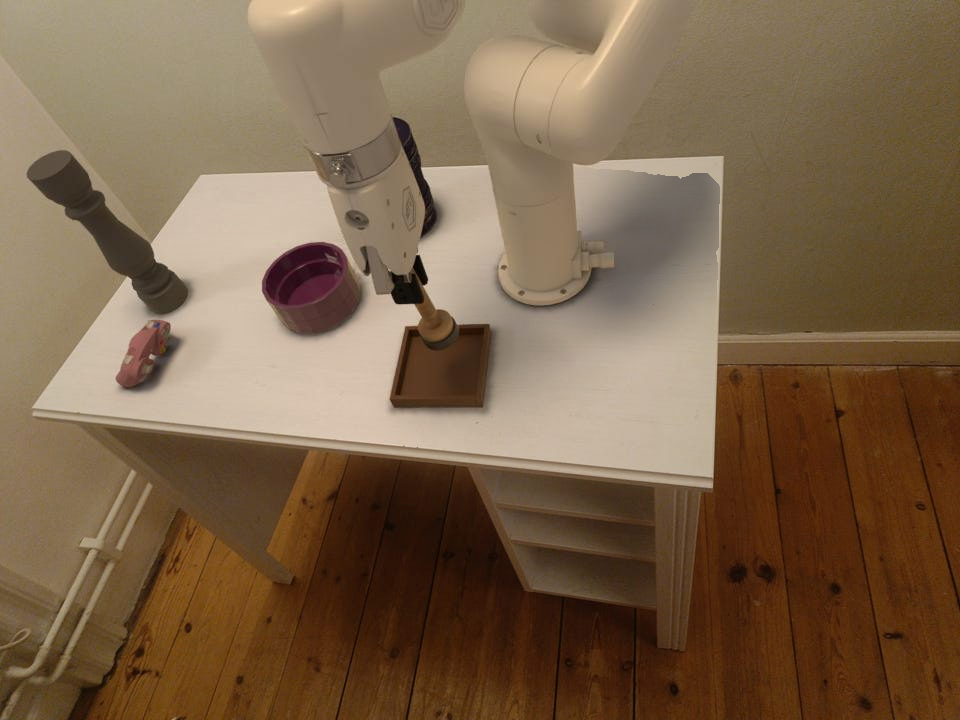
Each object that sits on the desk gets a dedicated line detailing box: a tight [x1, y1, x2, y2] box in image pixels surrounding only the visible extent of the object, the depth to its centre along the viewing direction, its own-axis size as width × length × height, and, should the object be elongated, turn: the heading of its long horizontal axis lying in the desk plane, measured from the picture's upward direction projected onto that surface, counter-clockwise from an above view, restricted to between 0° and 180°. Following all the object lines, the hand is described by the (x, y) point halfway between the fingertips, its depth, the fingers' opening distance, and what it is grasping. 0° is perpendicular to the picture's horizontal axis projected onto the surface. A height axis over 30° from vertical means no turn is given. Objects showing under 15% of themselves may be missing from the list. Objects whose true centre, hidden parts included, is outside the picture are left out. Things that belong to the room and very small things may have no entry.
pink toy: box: [115, 319, 171, 388], centre depth 85 cm, size 10×5×7 cm, turn 169°
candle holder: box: [26, 149, 189, 315], centre depth 85 cm, size 6×6×25 cm
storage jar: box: [392, 116, 438, 238], centre depth 89 cm, size 10×10×15 cm
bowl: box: [261, 241, 362, 334], centre depth 86 cm, size 12×12×6 cm
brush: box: [410, 267, 459, 351], centre depth 66 cm, size 4×4×14 cm
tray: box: [389, 323, 493, 409], centre depth 77 cm, size 11×11×2 cm
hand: (412, 291), depth 65 cm, fingers closed on brush, 2 cm apart
